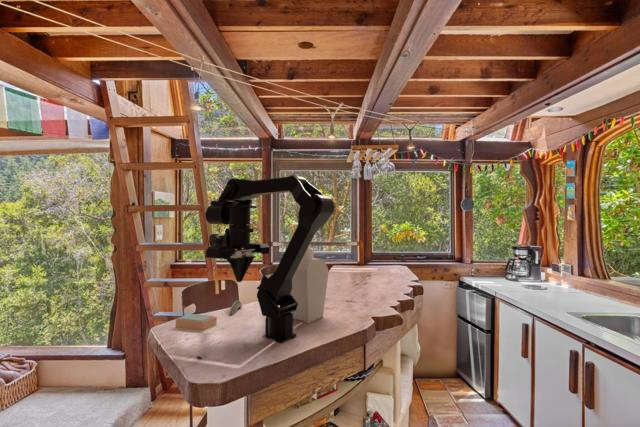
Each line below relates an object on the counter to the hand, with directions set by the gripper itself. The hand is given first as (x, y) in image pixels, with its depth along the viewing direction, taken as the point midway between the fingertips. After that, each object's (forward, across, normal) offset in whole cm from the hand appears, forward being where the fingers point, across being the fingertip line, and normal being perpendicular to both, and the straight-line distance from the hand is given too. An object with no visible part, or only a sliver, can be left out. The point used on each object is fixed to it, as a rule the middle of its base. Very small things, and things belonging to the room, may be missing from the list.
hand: (239, 282), depth 102 cm
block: (+11, +4, -6) cm, 14 cm away
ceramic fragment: (+14, -13, -15) cm, 24 cm away
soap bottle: (+13, -20, +8) cm, 25 cm away
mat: (+13, +5, -9) cm, 17 cm away
